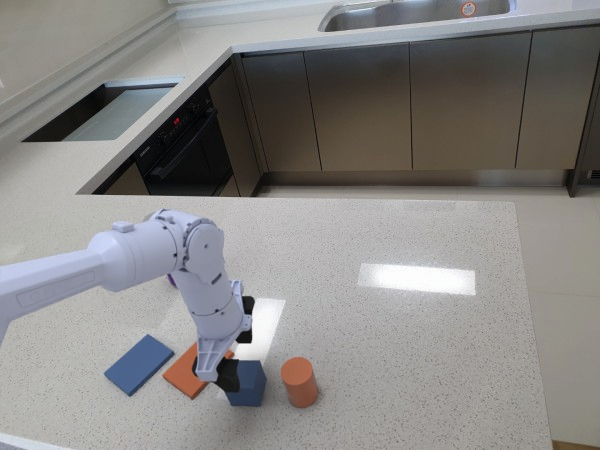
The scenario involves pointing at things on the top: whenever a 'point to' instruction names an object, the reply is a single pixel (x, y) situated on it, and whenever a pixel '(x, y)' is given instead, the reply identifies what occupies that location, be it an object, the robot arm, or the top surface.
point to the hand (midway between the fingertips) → (239, 364)
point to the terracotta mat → (187, 373)
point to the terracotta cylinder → (299, 381)
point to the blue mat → (138, 364)
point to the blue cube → (249, 384)
